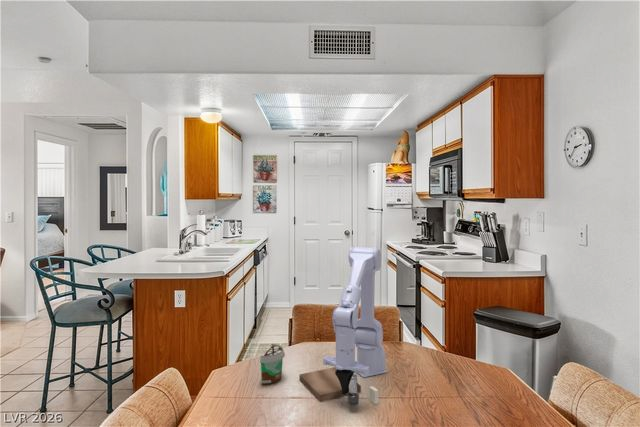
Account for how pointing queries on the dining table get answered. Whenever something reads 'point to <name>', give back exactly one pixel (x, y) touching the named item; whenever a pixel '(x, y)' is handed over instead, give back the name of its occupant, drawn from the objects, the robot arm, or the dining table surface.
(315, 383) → the stool seat
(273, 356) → the food container
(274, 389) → the dining table surface
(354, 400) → the folding leg
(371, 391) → the block
